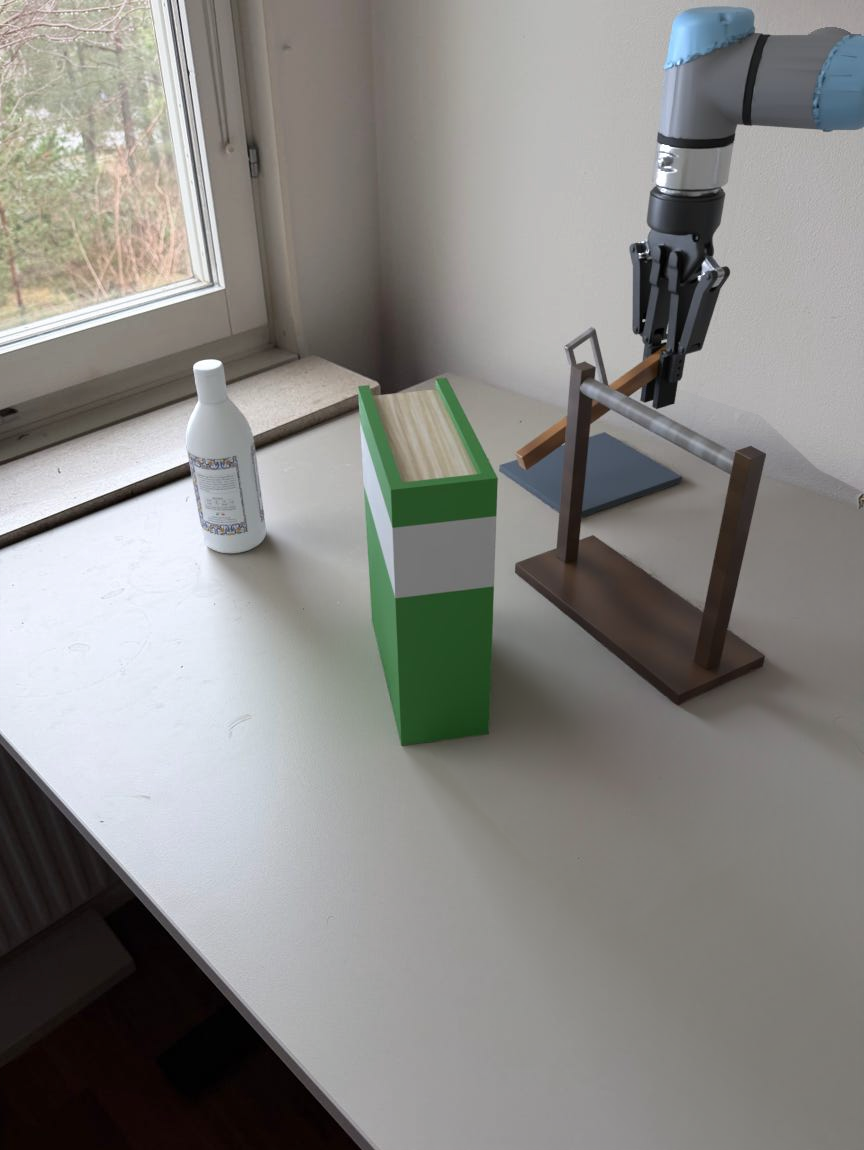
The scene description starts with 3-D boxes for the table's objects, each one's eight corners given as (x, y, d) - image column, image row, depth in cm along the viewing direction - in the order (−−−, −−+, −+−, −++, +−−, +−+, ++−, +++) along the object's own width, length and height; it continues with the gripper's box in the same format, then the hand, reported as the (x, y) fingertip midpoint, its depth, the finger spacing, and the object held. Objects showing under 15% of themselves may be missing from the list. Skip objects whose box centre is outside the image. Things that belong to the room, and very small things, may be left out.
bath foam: (236, 515, 111) (209, 346, 99) (279, 534, 107) (257, 360, 95) (191, 542, 107) (157, 368, 95) (234, 562, 103) (206, 384, 91)
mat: (604, 437, 123) (604, 431, 122) (681, 482, 113) (682, 476, 112) (498, 470, 117) (499, 464, 116) (570, 521, 107) (571, 515, 107)
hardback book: (371, 620, 94) (357, 386, 79) (446, 611, 95) (446, 377, 80) (401, 745, 80) (390, 489, 66) (488, 733, 81) (497, 478, 66)
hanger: (668, 358, 112) (654, 279, 105) (676, 362, 111) (663, 282, 104) (519, 465, 110) (494, 392, 102) (526, 470, 109) (501, 397, 101)
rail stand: (592, 544, 103) (613, 347, 90) (762, 666, 86) (819, 445, 73) (514, 572, 100) (524, 371, 86) (676, 705, 83) (720, 480, 69)
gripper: (613, 179, 103) (592, 388, 118) (711, 207, 93) (675, 433, 108) (667, 168, 106) (641, 374, 120) (768, 195, 96) (725, 416, 110)
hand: (657, 401), depth 114 cm, fingers closed on hanger
